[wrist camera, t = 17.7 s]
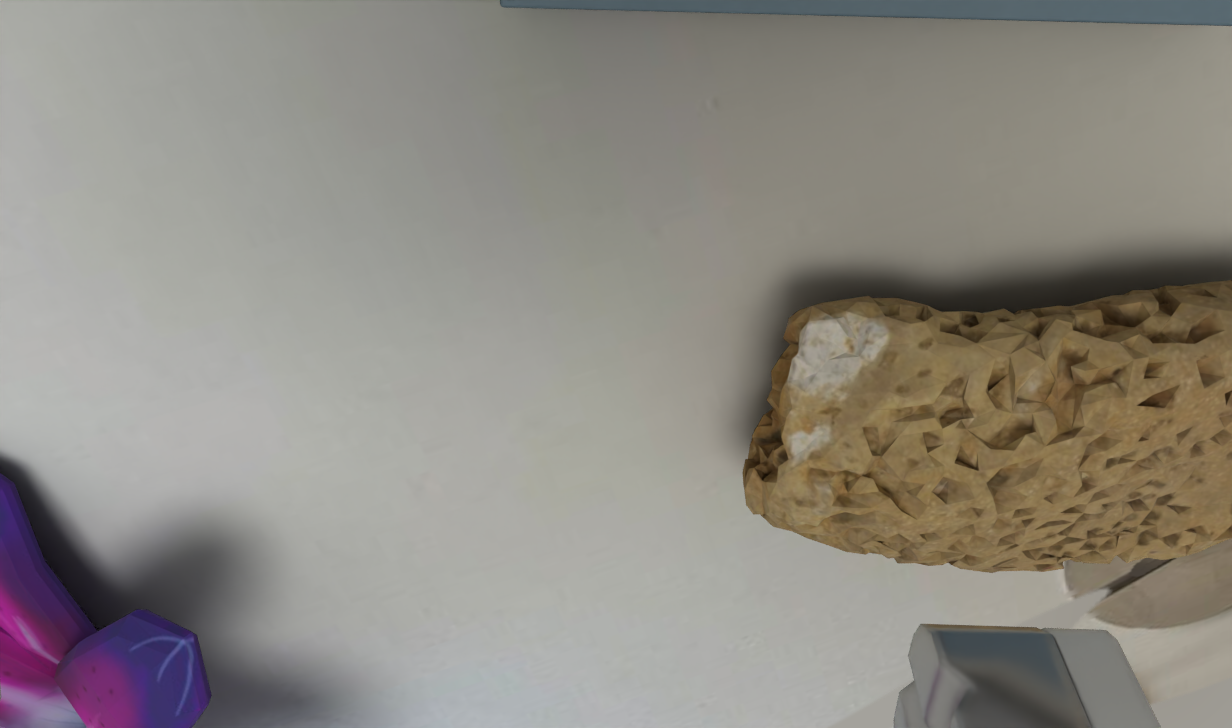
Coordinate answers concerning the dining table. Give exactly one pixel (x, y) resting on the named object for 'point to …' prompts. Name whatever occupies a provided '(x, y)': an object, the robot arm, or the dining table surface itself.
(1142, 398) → the sponge
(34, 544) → the decorative flower
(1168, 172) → the dining table surface
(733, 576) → the dining table surface
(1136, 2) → the tray
